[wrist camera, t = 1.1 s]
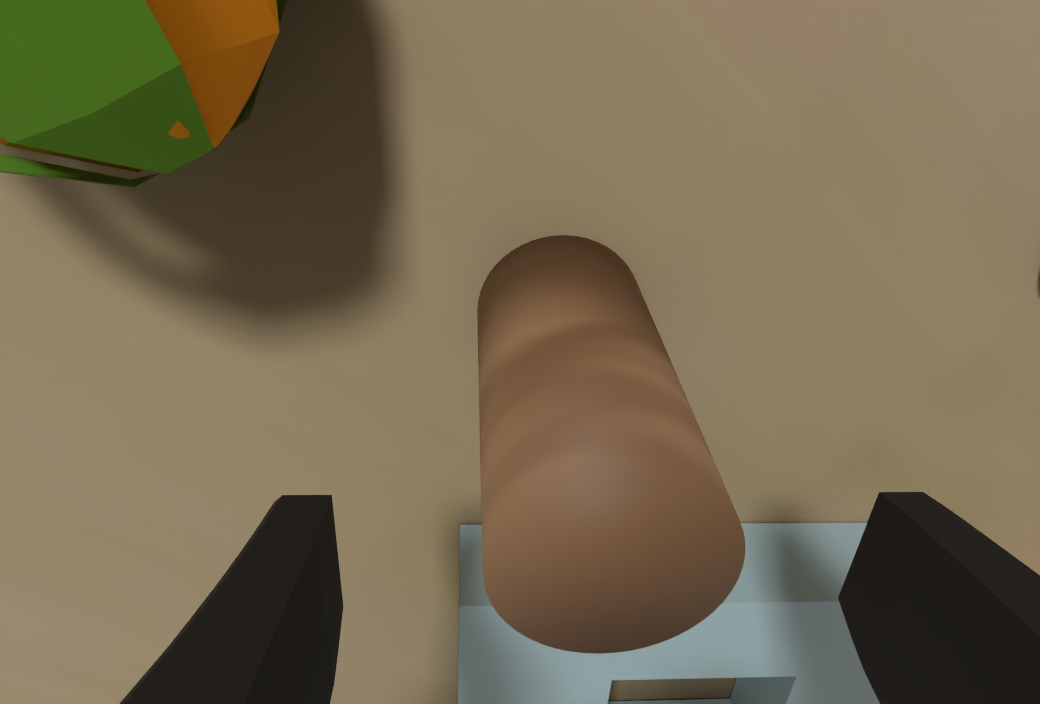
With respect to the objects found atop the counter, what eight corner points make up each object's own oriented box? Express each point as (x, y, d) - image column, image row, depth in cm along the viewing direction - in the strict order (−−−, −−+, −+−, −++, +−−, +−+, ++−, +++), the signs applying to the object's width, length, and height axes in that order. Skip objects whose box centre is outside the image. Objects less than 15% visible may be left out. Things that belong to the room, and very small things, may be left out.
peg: (651, 237, 15) (772, 466, 9) (629, 380, 17) (718, 652, 11) (478, 233, 15) (485, 466, 9) (475, 378, 16) (479, 655, 10)
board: (923, 522, 20) (979, 599, 17) (823, 746, 25) (857, 827, 23) (459, 524, 19) (459, 606, 16) (457, 757, 24) (456, 842, 22)
